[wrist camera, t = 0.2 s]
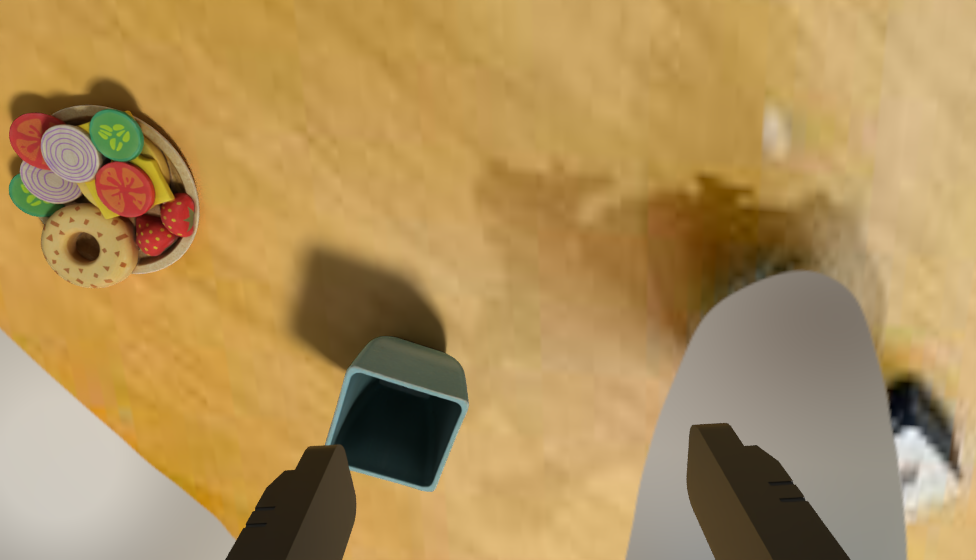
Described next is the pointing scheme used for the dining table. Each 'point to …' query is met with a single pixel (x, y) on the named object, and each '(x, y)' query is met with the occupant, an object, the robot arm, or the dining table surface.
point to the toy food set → (103, 193)
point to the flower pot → (400, 412)
